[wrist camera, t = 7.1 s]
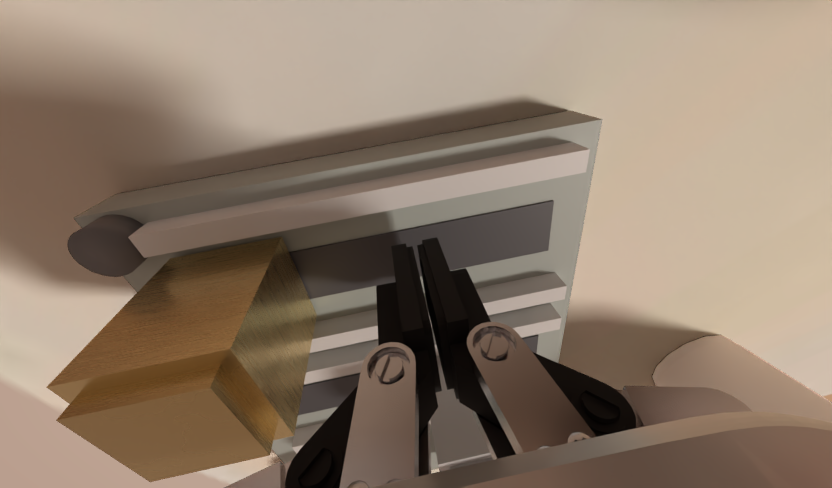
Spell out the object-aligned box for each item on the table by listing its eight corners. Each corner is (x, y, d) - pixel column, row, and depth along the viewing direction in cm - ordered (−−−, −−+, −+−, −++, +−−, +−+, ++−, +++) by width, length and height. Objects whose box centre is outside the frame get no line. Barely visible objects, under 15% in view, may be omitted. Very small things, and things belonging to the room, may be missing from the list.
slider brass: (281, 236, 11) (219, 372, 6) (316, 314, 13) (289, 458, 8) (170, 258, 11) (19, 414, 6) (224, 333, 13) (144, 491, 8)
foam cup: (724, 382, 27) (971, 607, 16) (624, 408, 27) (804, 653, 16) (773, 306, 22) (1186, 561, 11) (649, 337, 22) (943, 627, 11)
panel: (570, 110, 12) (664, 135, 8) (531, 418, 25) (561, 483, 21) (116, 194, 12) (-10, 264, 8) (317, 466, 24) (308, 544, 21)
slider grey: (494, 337, 16) (549, 458, 11) (494, 382, 18) (540, 500, 13) (418, 353, 16) (441, 483, 11) (427, 397, 18) (450, 521, 13)
